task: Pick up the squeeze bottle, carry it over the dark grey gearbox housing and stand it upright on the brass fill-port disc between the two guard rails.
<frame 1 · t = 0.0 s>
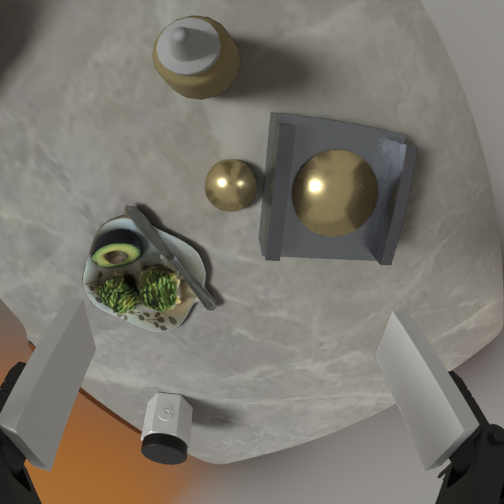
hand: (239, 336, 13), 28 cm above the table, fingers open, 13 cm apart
gearbox: (324, 182, 39), on the table
port cap: (230, 182, 38), on the table
salad plate: (141, 270, 43), on the table
jar: (170, 403, 56), on the table
squeeze bottle: (204, 67, 32), on the table
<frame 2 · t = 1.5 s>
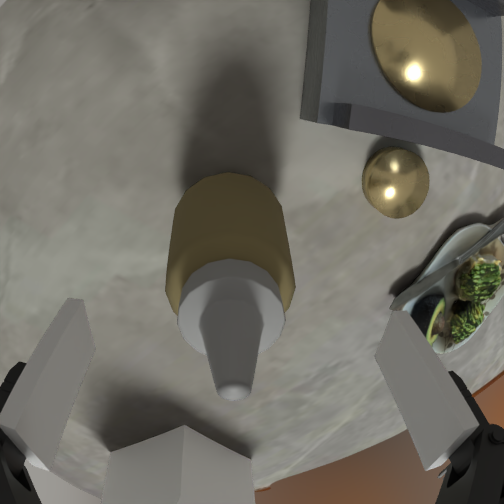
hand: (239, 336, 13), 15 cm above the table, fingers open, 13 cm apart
gearbox: (398, 52, 21), on the table
port cap: (390, 179, 26), on the table
salad plate: (452, 290, 33), on the table
white notched stand: (178, 457, 45), on the table
squeeze bottle: (228, 210, 26), on the table
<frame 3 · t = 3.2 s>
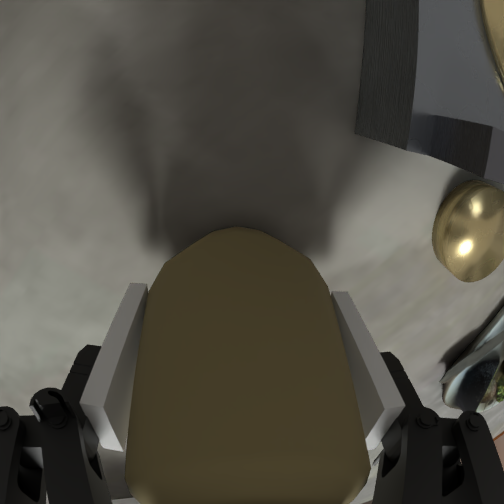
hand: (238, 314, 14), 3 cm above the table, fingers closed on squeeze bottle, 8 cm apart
gearbox: (485, 44, 11), on the table
port cap: (466, 224, 17), on the table
salad plate: (503, 346, 23), on the table
squeeze bottle: (237, 275, 17), on the table, touching gripper
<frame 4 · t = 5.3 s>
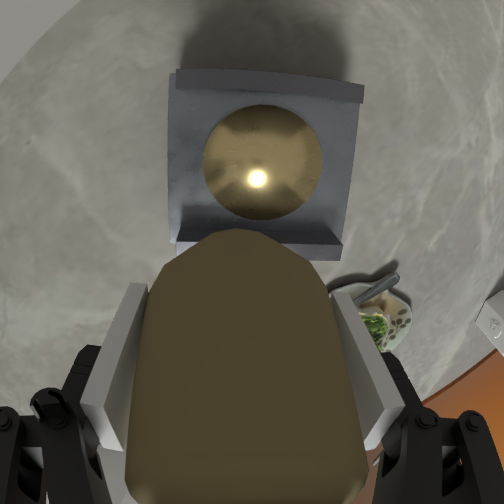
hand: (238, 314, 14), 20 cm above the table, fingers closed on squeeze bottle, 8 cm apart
gearbox: (257, 154, 31), on the table
salad plate: (344, 333, 43), on the table
jar: (491, 309, 44), on the table
white notched stand: (143, 453, 55), on the table
squeeze bottle: (236, 276, 17), point 17 cm above the table, touching gripper
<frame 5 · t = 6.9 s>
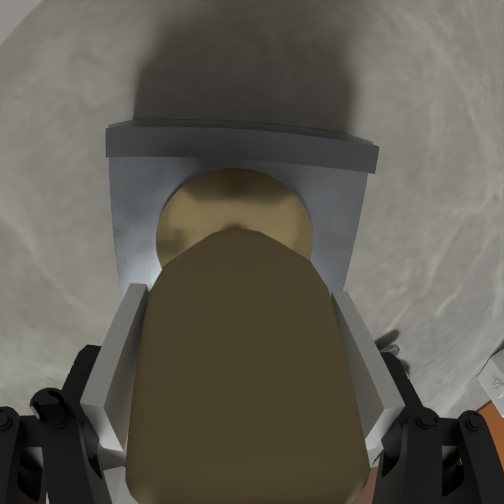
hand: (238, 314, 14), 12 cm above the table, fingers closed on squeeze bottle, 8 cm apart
gearbox: (233, 218, 25), on the table
jar: (495, 363, 39), on the table
white notched stand: (126, 485, 49), on the table
squeeze bottle: (237, 276, 17), point 9 cm above the table, touching gripper
when the fingers open (10 cm above the table, at t = 7.8 s): squeeze bottle stays where it is, resting on gearbox.
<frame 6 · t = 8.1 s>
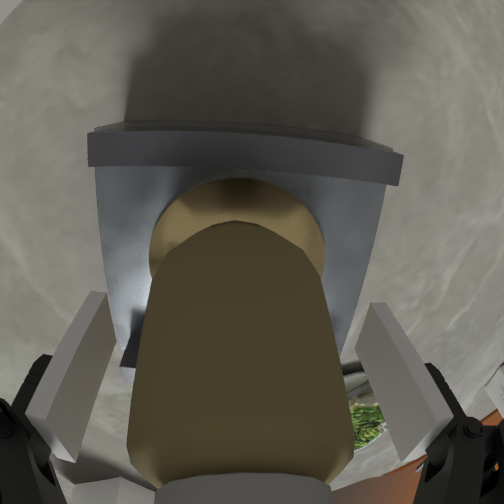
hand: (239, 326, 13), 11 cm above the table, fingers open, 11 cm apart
gearbox: (235, 230, 23), on the table
salad plate: (339, 413, 35), on the table
jar: (503, 373, 36), on the table
white notched stand: (125, 494, 47), on the table
squeeze bottle: (235, 266, 18), point 5 cm above the table, touching gearbox
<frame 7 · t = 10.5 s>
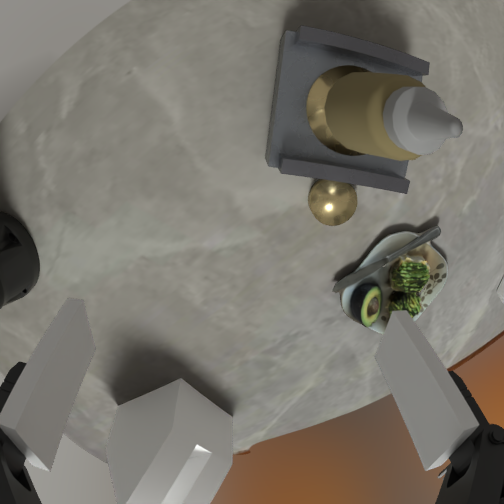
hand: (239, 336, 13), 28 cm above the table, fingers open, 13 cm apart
gearbox: (338, 109, 35), on the table
port cap: (330, 198, 40), on the table
salad plate: (390, 283, 46), on the table
white notched stand: (173, 412, 59), on the table
squeeze bottle: (352, 110, 30), point 5 cm above the table, touching gearbox
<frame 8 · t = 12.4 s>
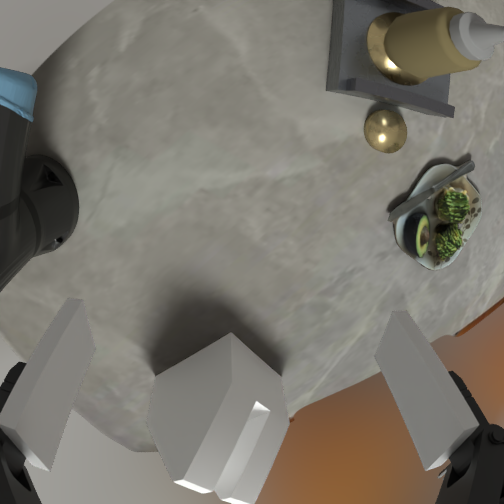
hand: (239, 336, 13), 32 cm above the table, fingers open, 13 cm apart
gearbox: (385, 52, 34), on the table
port cap: (382, 130, 40), on the table
salad plate: (434, 217, 46), on the table
white notched stand: (217, 377, 58), on the table
squeeze bottle: (402, 48, 30), point 5 cm above the table, touching gearbox
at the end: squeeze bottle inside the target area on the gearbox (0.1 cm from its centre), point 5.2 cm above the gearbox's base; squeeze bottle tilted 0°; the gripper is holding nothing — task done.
